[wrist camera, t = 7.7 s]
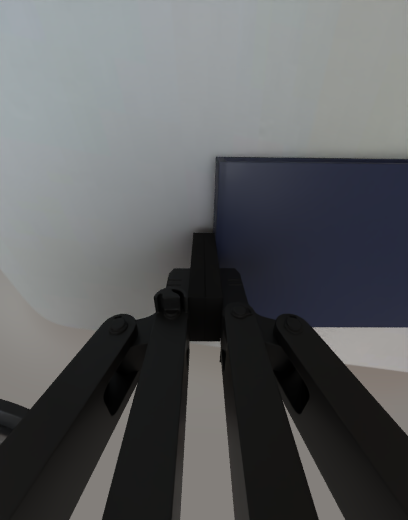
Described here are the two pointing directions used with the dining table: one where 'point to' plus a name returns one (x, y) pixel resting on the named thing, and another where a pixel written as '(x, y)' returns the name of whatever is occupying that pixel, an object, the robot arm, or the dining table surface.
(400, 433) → the robot arm
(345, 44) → the dining table surface
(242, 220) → the book
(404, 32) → the dining table surface
